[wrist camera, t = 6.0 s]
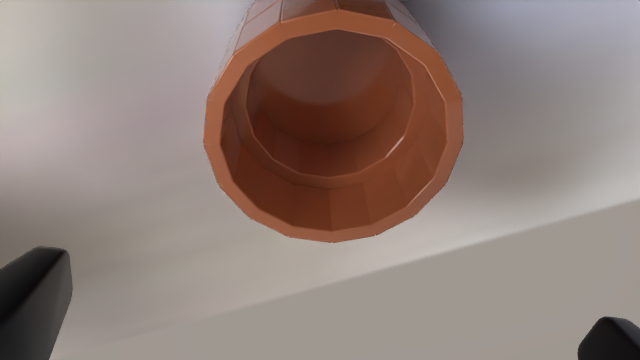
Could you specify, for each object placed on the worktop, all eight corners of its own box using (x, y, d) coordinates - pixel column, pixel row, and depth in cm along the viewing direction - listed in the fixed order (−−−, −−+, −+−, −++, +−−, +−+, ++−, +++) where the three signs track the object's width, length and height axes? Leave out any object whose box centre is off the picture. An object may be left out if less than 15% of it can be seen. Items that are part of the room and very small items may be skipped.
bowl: (391, 169, 19) (417, 255, 15) (220, 141, 18) (195, 225, 14) (450, -6, 15) (505, 43, 11) (240, -52, 15) (216, -17, 10)
